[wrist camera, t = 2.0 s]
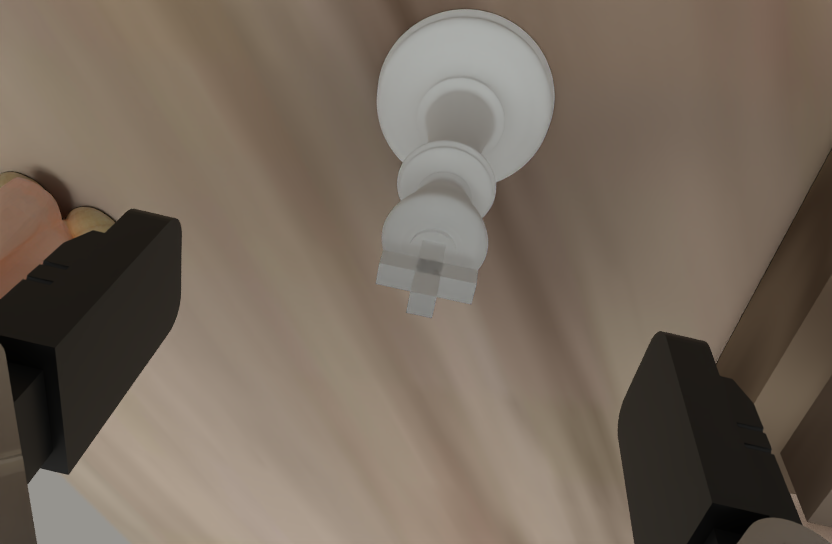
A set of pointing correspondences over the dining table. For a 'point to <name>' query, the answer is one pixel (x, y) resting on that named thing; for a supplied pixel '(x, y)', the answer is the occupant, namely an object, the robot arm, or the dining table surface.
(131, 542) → the dining table surface
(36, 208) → the grandmother figurine
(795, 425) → the walnut pedestal
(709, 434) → the robot arm
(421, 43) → the chess piece
